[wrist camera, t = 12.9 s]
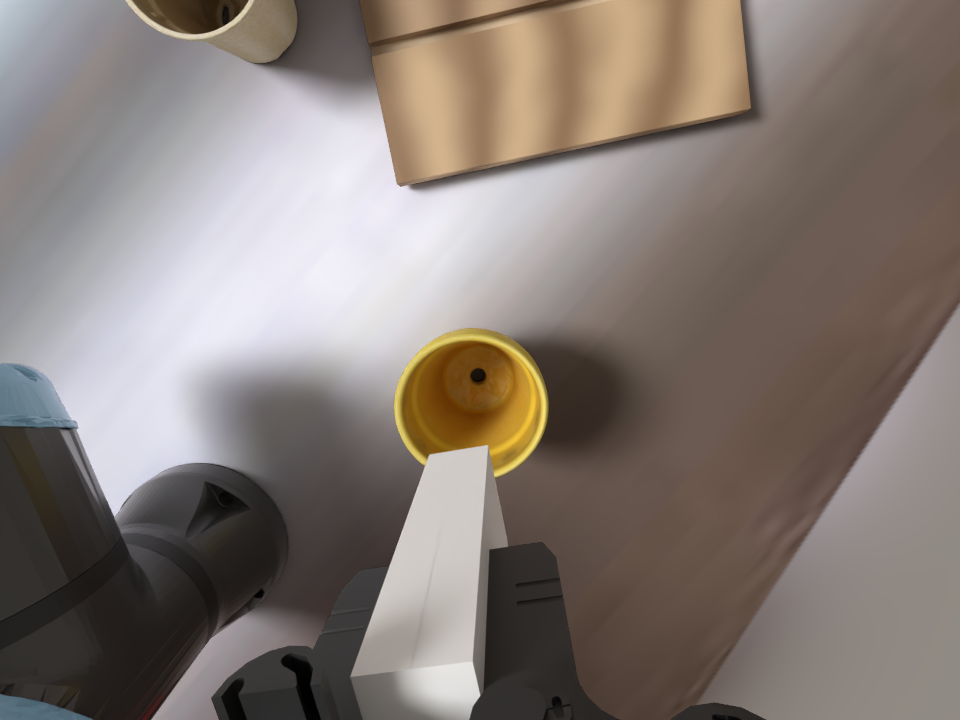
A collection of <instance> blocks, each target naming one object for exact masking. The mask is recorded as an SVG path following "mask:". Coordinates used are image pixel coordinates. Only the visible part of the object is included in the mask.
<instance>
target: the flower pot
mask: <svg viewBox="0 0 960 720" xmlns="http://www.w3.org/2000/svg"><path fill="white" fill-rule="evenodd" d="M126 1H127V3H128V5H129V6H130V7H131V8H132V9H133V10H134V12H135V13H136V14H137V15H138V16H139V17H140V18H141V19H142V20H144V21H145V22H146V23H147V24H149V25H150V26H152V27H153V28H155V29H156V30H158V31H160V32H162V33H164V34H166V35H168V36H171V37H174V38H177V39H181V40H186V41H203V42H207V43H209V44H211V45H213V46H216V47H218V48H220V49H222V50H224V51H227V52H229V53H231V54H233V55H235V56H237V57H239V58H241V59H243V60H245V61H248V62H253V63H266V62H270V61H273V60H275V59H277V58H279V56H280V55H281V54H282V53H283V52H284V51H285V50H286V49H287V48H288V46H289V45H290V44H291V43H292V42H293V40H294V37H295V34H296V29H297V11H296V6H295V3H294V0H126ZM225 6H226V7H228V10H229V23H228V24H226V25H225V24H224V23H223V13H224V12H223V9H224V7H225Z"/></svg>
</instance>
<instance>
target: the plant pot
mask: <svg viewBox="0 0 960 720" xmlns="http://www.w3.org/2000/svg"><path fill="white" fill-rule="evenodd" d="M477 368H480V369H482V370H484V372H485V375H486V377H485V379H484V380H483V381H481V382H474V381H473V380H472V379H471V373H472V371H473V370H474V369H477ZM394 411H395V419H396V424H397V428H398V431H399V433H400V436H401V438H402V440H403V442H404V444H405V445H406V447H407V448H408V450H409V451H410V452H411V454H412V455H413V456H414V457H415V458H416V459H417V460H418V461H419V462H420V463H422V464H423V465H424V466H425V465H426V462H427V460H428V457H429V455H430V454H436V453H442V452H448V451H455V450H461V449H467V448H473V447H479V446H485V445H488V447H489V452H490V457H491V462H492V467H493V472H494V477H495V478H496V477H499V476H502V475H504V474H506V473H508V472H510V471H512V470H513V469H515V468H516V467H518V466H519V465H520V464H522V463H523V462H524V461H525V460H526V459H527V458H528V457H529V456H530V455H531V454H532V452H533V451H534V450H535V448H536V447H537V445H538V444H539V442H540V440H541V438H542V436H543V434H544V431H545V428H546V424H547V419H548V411H549V401H548V394H547V389H546V386H545V382H544V379H543V377H542V374H541V372H540V370H539V368H538V366H537V365H536V363H535V361H534V360H533V358H532V357H531V356H530V354H529V353H528V352H527V351H526V350H525V349H524V348H523V347H522V346H521V345H519V344H518V343H517V342H515V341H514V340H512V339H511V338H509V337H507V336H505V335H503V334H501V333H498V332H495V331H491V330H487V329H479V328H468V329H460V330H455V331H452V332H449V333H446V334H444V335H442V336H440V337H438V338H436V339H434V340H433V341H431V342H430V343H429V344H427V345H426V346H425V347H424V348H423V349H421V350H420V351H419V352H418V353H417V354H416V355H415V357H414V358H413V359H412V360H411V362H410V363H409V364H408V365H407V367H406V368H405V370H404V372H403V374H402V376H401V378H400V380H399V383H398V386H397V389H396V394H395V402H394Z"/></svg>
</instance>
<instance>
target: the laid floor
mask: <svg viewBox="0 0 960 720" xmlns="http://www.w3.org/2000/svg"><path fill="white" fill-rule="evenodd" d="M606 1H610V0H359V3H360V8H361V12H362V17H363V22H364V26H365V31H366V35H367V40H368V44H369V45H370V47H371V50H372V54H373V56H377V55H381V54H385V53H390V52H394V51H398V50H402V49H407V48H411V47H415V46H419V45H424V44H428V43H432V42H436V41H441V40H445V39H449V38H453V37H458V36H462V35H466V34H470V33H475V32H479V31H483V30H487V29H491V28H496V27H500V26H504V25H508V24H513V23H517V22H521V21H525V20H530V19H534V18H538V17H542V16H547V15H551V14H555V13H559V12H564V11H568V10H572V9H576V8H581V7H585V6H589V5H593V4H598V3H602V2H606Z"/></svg>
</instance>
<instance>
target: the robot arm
mask: <svg viewBox="0 0 960 720" xmlns="http://www.w3.org/2000/svg"><path fill="white" fill-rule="evenodd" d="M76 429H78V425H77V423H76V421H74V420H71V418H70V416H69V415H68V413H67V411H66V409H65V407H64V405H63V404H62V402H61V400H60V398H59V396H58V394H57V392H56V390H55V388H54V386H53V384H52V383H51V381H50V380H49V379H48V377H47V376H46V375H44V374H43V373H42V372H40V371H38V370H37V369H34V368H32V367H29V366H26V365H21V364H0V720H151V719H152V718H153V716H154V715H155V714H156V712H157V711H158V710H159V708H160V707H161V705H162V704H163V703H164V701H165V700H166V699H167V697H168V696H169V694H170V693H171V692H172V690H173V689H174V688H175V686H176V685H177V684H178V682H179V681H180V679H181V678H182V677H183V675H184V674H185V673H186V671H187V670H188V668H189V667H190V666H191V664H192V663H193V662H194V660H195V659H196V657H197V656H198V655H199V653H200V652H201V651H202V649H203V648H204V647H205V645H206V644H207V643H208V641H209V640H210V639H211V638H212V637H213V636H215V635H216V634H217V633H219V632H220V631H222V630H223V629H225V628H226V627H228V626H229V625H231V624H232V623H233V622H235V621H236V620H238V619H239V618H241V617H242V616H244V615H245V614H247V613H248V612H249V611H251V610H252V609H253V608H255V607H256V606H257V605H258V604H259V603H260V602H261V601H262V600H263V599H264V598H265V597H266V596H267V594H268V593H269V592H270V590H271V589H272V587H273V586H274V584H275V583H276V581H277V580H278V578H279V577H280V575H281V573H282V571H283V569H284V566H285V563H286V559H287V553H288V539H287V533H286V528H285V525H284V522H283V520H282V517H281V515H280V513H279V511H278V509H277V508H276V506H275V505H274V503H273V502H272V500H271V499H270V498H269V497H268V496H267V494H266V493H265V492H264V491H263V490H262V489H261V488H259V487H258V486H257V485H256V484H255V483H253V482H252V481H251V480H249V479H248V478H246V477H244V476H243V475H241V474H239V473H237V472H234V471H232V470H230V469H227V468H224V467H220V466H216V465H211V464H201V463H194V464H184V465H179V466H176V467H172V468H170V469H167V470H165V471H163V472H161V473H159V474H158V475H156V476H155V477H153V478H152V479H150V480H149V481H147V482H146V483H144V484H143V485H141V486H140V487H139V488H137V489H136V490H135V491H134V492H133V493H132V494H131V495H130V496H129V497H128V498H127V500H126V501H125V502H124V504H123V505H122V507H121V509H120V511H119V512H118V513H117V515H116V516H115V517H114V516H113V513H112V511H111V509H110V507H109V505H108V502H107V500H106V498H105V496H104V493H103V491H102V489H101V487H100V484H99V482H98V480H97V478H96V476H95V473H94V471H93V469H92V466H91V464H90V462H89V459H88V457H87V454H86V452H85V450H84V447H83V445H82V442H81V440H80V438H79V435H78V433H77V430H76ZM322 632H323V633H322V635H320V636H319V638H318V640H317V642H316V645H315V647H314V649H313V650H312V649H311V648H309V647H307V646H287V647H283V648H279V649H276V650H272V651H269V652H267V653H265V654H263V655H261V656H259V657H257V658H255V659H253V660H252V661H250V662H248V663H246V664H245V665H244V666H243V667H241V668H240V669H239V670H238V671H236V672H235V673H234V674H233V675H231V676H230V677H229V678H228V679H227V680H226V681H225V682H224V683H223V684H222V686H221V687H220V688H219V689H218V690H217V692H216V693H215V694H214V695H213V696H212V698H211V699H212V702H213V704H214V707H215V710H216V713H217V715H218V718H219V720H618V719H616V718H614V717H613V716H611V715H609V714H607V713H606V712H604V711H602V710H601V709H600V708H599V707H598V706H596V705H595V704H594V703H593V702H592V701H591V700H590V699H589V698H588V696H587V695H586V693H585V692H584V690H583V689H582V687H581V686H580V683H579V680H578V677H577V673H576V667H575V662H574V656H573V650H572V644H571V639H570V633H569V627H568V622H567V616H566V611H565V605H564V599H563V594H562V588H561V583H560V577H559V572H558V566H557V560H556V557H555V556H554V555H553V553H552V552H551V551H550V550H549V549H548V548H547V547H546V546H545V545H544V544H543V542H537V543H530V544H523V545H516V546H510V547H508V541H507V536H506V531H505V526H504V521H503V516H502V511H501V506H500V502H499V497H498V492H497V487H496V482H495V477H494V472H493V467H492V462H491V457H490V452H489V447H488V445H485V446H479V447H473V448H467V449H461V450H455V451H448V452H442V453H436V454H430V455H429V457H428V460H427V462H426V465H425V468H424V471H423V474H422V477H421V479H420V482H419V485H418V488H417V491H416V493H415V496H414V499H413V502H412V505H411V507H410V510H409V513H408V516H407V519H406V521H405V524H404V527H403V530H402V533H401V536H400V538H399V541H398V544H397V547H396V550H395V552H394V555H393V558H392V561H391V564H390V566H386V567H379V568H372V569H365V570H360V571H359V572H358V573H357V574H356V575H355V576H354V577H353V578H352V579H351V580H350V581H349V582H348V583H347V585H346V586H345V587H344V588H343V589H342V590H341V592H340V594H339V596H338V598H337V600H336V602H335V604H334V606H333V609H332V611H331V616H329V617H328V619H327V621H326V623H325V626H324V628H323V630H322ZM671 720H765V719H763V718H762V717H759V716H757V715H755V714H753V713H751V712H749V711H747V710H745V709H743V708H741V707H736V706H730V705H724V704H719V703H709V704H702V705H695V706H690V707H688V708H687V709H685V710H684V711H682V712H681V713H679V714H677V715H676V716H674V717H673V718H672V719H671Z"/></svg>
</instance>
